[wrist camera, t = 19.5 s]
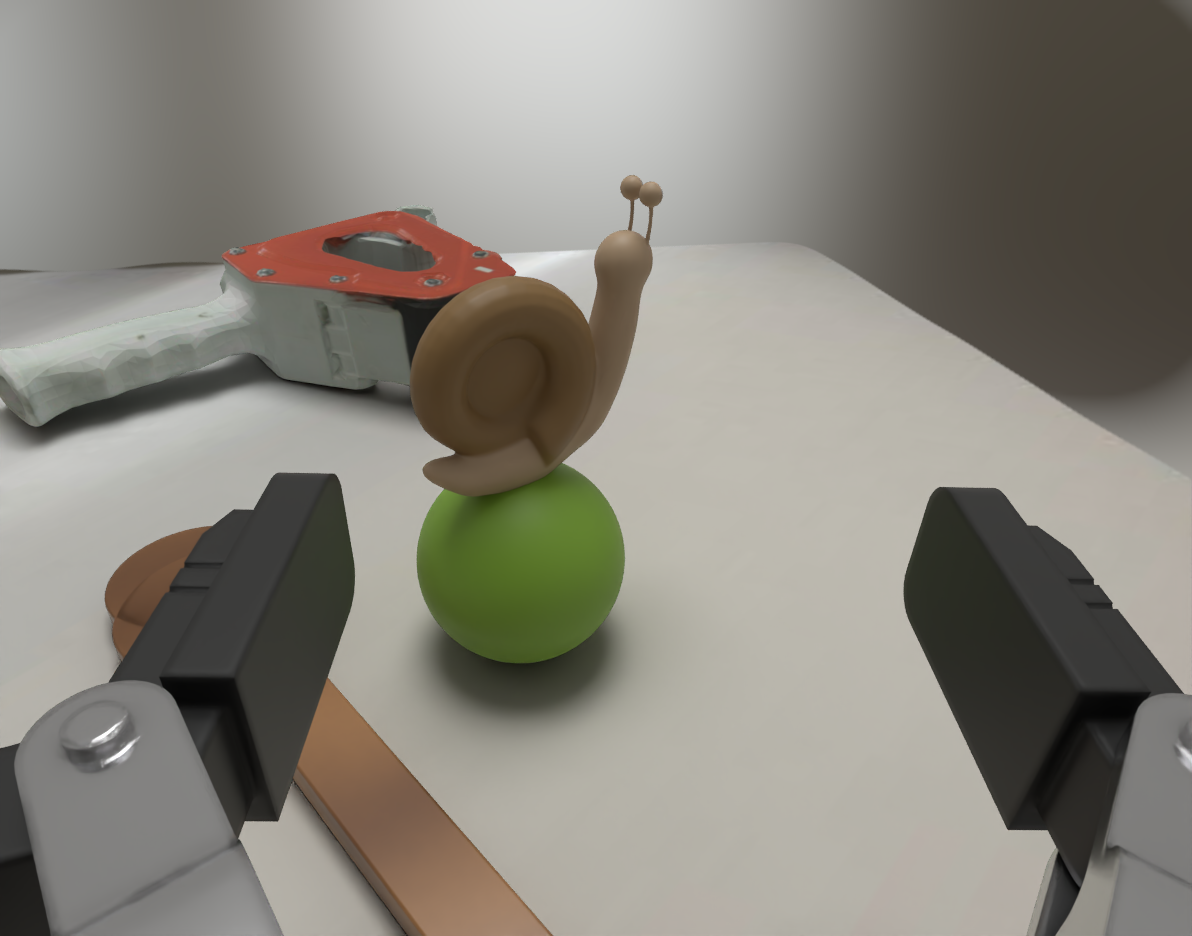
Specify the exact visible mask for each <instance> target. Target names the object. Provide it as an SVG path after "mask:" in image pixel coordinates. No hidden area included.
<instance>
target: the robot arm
mask: <svg viewBox="0 0 1192 936" xmlns="http://www.w3.org/2000/svg"><path fill="white" fill-rule="evenodd" d="M354 586H355V568H354V560H353V554H352V548H351V542H350V536H349V530H348V524H347V518H346V512H345V506H344V500H343V494H342V489H341V484H340V481H339V479H338V477H337V476H336V475H335V474H320V473H276V474H275V475H274V476H273V477H272V478H271V480H270V482H269V484H268V485H267V487H266V489H265V491H264V492H263V494H262V496H261V498H260V499H259V501H258V503H257V505H256V506H255V508H254V510H235V509H234V510H233V511H231V512H230V513H229V514H227V515H226V516H225V517H224V518H222V519H221V520H220V521H218V522H217V523H216V524H214V525H213V526H212V527H211V528H209V529H208V530H207V531H205V532H204V533H203V534H202V535H201V537H200V538H199V540H198V541H197V543H196V545H195V546H194V548H193V549H192V551H191V552H190V554H189V556H188V557H187V559H186V560H185V562H184V568H180V570H179V572H178V573H177V575H176V576H175V578H174V579H173V581H172V583H171V584H170V586H169V588H170V589H169V592H165V594H164V595H163V597H162V598H161V600H160V602H159V603H158V605H157V606H156V608H155V610H154V611H153V613H152V614H151V616H150V618H149V619H148V621H147V622H146V624H145V625H144V627H143V629H142V630H141V632H140V633H139V635H138V637H137V638H136V640H135V641H134V643H133V644H132V646H131V648H130V649H129V651H128V652H127V654H126V656H125V657H124V659H123V660H122V662H121V664H120V665H119V667H118V668H117V670H116V671H115V673H114V675H113V676H112V678H111V679H110V681H109V683H106V684H102V685H98V686H95V687H92V688H89V689H87V690H84V691H82V692H80V693H77V694H75V695H73V696H71V697H69V698H68V699H66V700H64V701H62V702H61V703H59V704H58V705H56V706H55V707H53V708H52V709H51V710H49V711H48V712H47V713H45V714H44V715H43V716H42V717H41V718H40V719H39V720H38V721H37V722H36V723H35V724H34V725H33V726H32V727H31V729H30V730H29V731H28V732H27V733H26V735H25V737H24V738H23V740H22V741H21V743H19V744H15V745H12V746H8V747H4V748H0V936H284V935H283V933H282V931H281V928H280V926H279V924H278V922H277V919H276V917H275V915H274V913H273V911H272V908H271V906H270V904H269V902H268V899H267V897H266V895H265V893H264V890H263V888H262V886H261V884H260V882H259V879H258V877H257V875H256V873H255V870H254V868H253V866H252V864H251V862H250V859H249V857H248V855H247V853H246V851H245V849H244V847H243V845H242V843H241V841H240V840H239V839H238V837H239V835H240V832H241V829H242V827H243V824H244V822H245V821H278V820H279V817H280V814H281V811H282V808H283V805H284V802H285V800H286V797H287V794H288V791H289V788H290V785H291V782H292V779H293V776H294V773H295V770H296V767H297V764H298V762H299V759H300V756H301V753H302V750H303V747H304V744H305V741H306V738H307V735H308V732H309V729H310V726H311V724H312V721H313V718H314V715H315V712H316V709H317V706H318V703H319V700H320V697H321V694H322V691H323V689H324V686H325V683H326V680H327V677H328V674H329V671H330V668H331V665H332V662H333V659H334V656H335V653H336V651H337V648H338V645H339V642H340V639H341V636H342V633H343V630H344V627H345V624H346V621H347V618H348V615H349V613H350V609H351V606H352V601H353V595H354ZM904 603H905V609H906V613H907V616H908V619H909V621H910V624H911V626H912V628H913V630H914V632H915V634H916V636H917V638H918V641H919V643H920V645H921V647H922V649H923V651H924V653H925V655H926V658H927V660H928V662H929V664H930V666H931V668H932V670H933V672H934V674H935V677H936V679H937V681H938V683H939V685H940V687H941V689H942V691H943V694H944V696H945V698H946V700H947V702H948V704H949V706H950V708H951V711H952V713H953V715H954V717H955V719H956V721H957V723H958V725H959V728H960V730H961V732H962V734H963V736H964V738H965V740H966V742H967V744H968V747H969V749H970V751H971V753H972V755H973V757H974V759H975V761H976V764H977V766H978V768H979V770H980V772H981V774H982V776H983V778H984V781H985V783H986V785H987V787H988V789H989V791H990V793H991V795H992V798H993V800H994V802H995V804H996V806H997V808H998V810H999V812H1000V814H1001V817H1002V819H1003V821H1004V823H1005V825H1006V827H1007V829H1008V830H1048V832H1049V834H1050V835H1051V837H1052V839H1053V841H1054V843H1055V845H1056V848H1055V850H1054V852H1053V853H1052V855H1051V857H1050V859H1049V861H1048V863H1047V866H1046V869H1045V873H1044V876H1043V880H1042V883H1041V887H1040V890H1039V893H1038V897H1037V900H1036V904H1035V907H1034V911H1033V914H1032V918H1031V921H1030V925H1029V928H1028V932H1027V935H1026V936H1192V695H1187V694H1184V693H1183V692H1182V691H1181V689H1180V688H1179V687H1178V686H1177V684H1176V683H1175V682H1174V680H1173V679H1172V678H1171V677H1170V675H1169V674H1168V673H1167V672H1166V670H1165V669H1164V668H1163V666H1162V665H1161V664H1160V663H1159V661H1158V660H1157V659H1156V658H1155V656H1154V655H1153V654H1152V652H1151V651H1150V650H1149V649H1148V647H1147V646H1146V645H1145V644H1144V642H1143V641H1142V640H1141V638H1140V637H1139V636H1138V635H1137V633H1136V632H1135V631H1134V630H1133V628H1132V627H1131V626H1130V624H1129V623H1128V622H1127V621H1126V619H1125V618H1124V617H1123V616H1122V614H1121V613H1120V612H1119V610H1118V609H1113V608H1112V604H1113V603H1112V602H1111V600H1110V599H1109V598H1108V596H1107V595H1106V594H1105V593H1104V591H1103V590H1102V589H1101V588H1100V586H1099V585H1094V579H1093V577H1092V576H1091V575H1090V574H1089V572H1088V571H1087V570H1086V568H1085V567H1084V566H1083V565H1082V563H1081V562H1080V561H1079V560H1078V558H1077V557H1076V556H1075V554H1074V553H1073V552H1072V551H1071V550H1070V549H1068V548H1067V547H1066V546H1064V545H1063V544H1061V543H1060V542H1059V541H1057V540H1056V539H1055V538H1053V537H1052V536H1050V535H1049V534H1048V533H1046V532H1045V531H1043V530H1042V529H1041V528H1039V527H1038V526H1027V524H1026V523H1025V522H1024V520H1023V519H1022V518H1021V516H1020V515H1019V514H1018V512H1017V511H1016V510H1015V508H1014V507H1013V506H1012V504H1011V503H1010V502H1009V500H1008V499H1007V497H1006V496H1005V495H1004V494H1003V493H1002V492H1001V491H1000V490H998V489H996V488H957V487H939V488H937V489H936V490H935V491H934V492H933V493H932V495H931V497H930V498H929V501H928V504H927V507H926V510H925V513H924V517H923V520H922V523H921V526H920V529H919V533H918V536H917V539H916V542H915V545H914V548H913V552H912V555H911V558H910V561H909V564H908V567H907V571H906V574H905V580H904Z"/></svg>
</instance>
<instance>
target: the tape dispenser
mask: <svg viewBox="0 0 1192 936" xmlns="http://www.w3.org/2000/svg"><path fill="white" fill-rule="evenodd" d="M222 258H223V262H224V265H225V269H226V270H225V272H224V274H223V276H222V279H221V282H220V286H221V289H222V292H223V294H222V296H220V297H219V298H217V299H215V300H213V301H211V302H210V303H208V304H205V305H201V306H196V307H190V308H185V309H180V310H175V311H170V312H165V313H160V314H155V315H150V316H146V317H141V318H137V319H132V320H128V321H123V322H119V323H115V324H111V325H107V326H103V327H99V328H96V329H92V330H88V331H84V332H80V333H77V334H73V335H70V336H66V337H63V338H59V339H56V340H53V341H49V342H45V343H41V344H37V345H33V346H29V347H19V348H10V349H0V397H1V398H2V400H3V401H4V403H5V404H6V405H7V406H8V408H9V409H10V410H12V411H13V412H14V413H15V414H16V415H17V416H18V417H20V418H21V419H22V420H23V421H25V422H26V423H27V424H29V425H32V426H35V427H38V426H42V425H43V424H45V423H46V422H48V421H49V420H51V419H52V418H54V417H55V416H57V415H59V414H61V413H63V412H65V411H67V410H69V409H71V408H73V407H76V406H80V405H83V404H86V403H90V402H95V401H99V400H103V399H108V398H112V397H114V396H117V395H119V394H122V393H124V392H127V391H129V390H132V389H135V388H139V387H143V386H146V385H150V384H154V383H157V382H161V381H163V380H166V379H168V378H171V377H173V376H175V375H179V374H182V373H186V372H189V371H192V370H196V369H199V368H202V367H205V366H207V365H209V364H212V363H214V362H216V361H219V360H221V359H223V358H226V357H228V356H231V355H237V354H244V353H251V354H255V355H257V356H258V357H259V358H260V359H261V360H262V361H263V362H264V363H265V364H266V365H267V366H268V367H269V368H270V369H271V370H272V371H274V372H275V373H276V374H277V375H278V376H279V377H281V378H283V379H287V380H294V381H300V382H307V383H314V384H320V385H327V386H333V387H340V388H347V389H355V390H357V389H365V388H368V387H371V386H373V385H375V384H376V383H377V382H378V381H379V380H380V381H387V382H395V383H399V384H404V385H408V386H410V373H411V367H412V361H413V357H414V354H415V352H416V349H417V346H418V343H419V341H420V339H421V337H422V335H423V334H424V332H425V330H426V328H427V326H428V325H429V323H430V322H431V321H432V320H433V318H434V317H435V316H436V315H437V313H438V312H439V311H440V310H441V309H442V308H443V307H444V306H445V305H446V304H447V303H449V302H450V301H451V300H452V299H453V298H454V297H455V296H457V295H458V294H460V293H461V292H463V291H465V290H467V289H468V288H470V287H472V286H473V285H475V284H478V283H481V282H484V281H487V280H490V279H492V278H498V277H506V276H515V273H516V271H515V270H514V269H513V268H512V267H511V266H509V265H508V264H507V263H505V262H504V261H502V258H501V256H500V255H499V254H498V253H495V252H491V251H485V250H482V249H481V248H480V247H477V246H473V245H472V244H471V243H469V242H467V241H465V240H463V239H462V238H459V237H457V236H455V235H452V234H451V233H448V232H446V231H444V230H443V229H441V228H439V227H437V222H436V217H435V215H434V213H433V209H432V208H429V207H425V206H421V205H413V206H405V207H400V208H397V209H396V210H395V211H385V212H378V213H374V214H370V215H366V216H361V217H357V218H353V219H349V220H345V221H341V222H337V223H333V224H329V225H325V226H321V227H317V228H313V229H309V230H305V231H301V232H297V233H293V234H289V235H285V236H281V237H277V238H274V239H271V240H270V241H267V242H263V243H257V244H253V245H248V246H244V247H240V248H238V247H237V248H231V250H229V251H227V252H225V253H224V254H223V255H222Z"/></svg>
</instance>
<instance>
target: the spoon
mask: <svg viewBox="0 0 1192 936" xmlns="http://www.w3.org/2000/svg"><path fill="white" fill-rule="evenodd" d="M211 527H212V526H206V527H199V528H194V529H189V530H185V531H182V532H178V533H175V534H172V535H169V536H166V537H164V538H162V539H159V540H157V541H155V542H153V543H151V544H149V545H147V546H145V547H144V548H142V549H140V550H139V551H137V552H136V553H134V554H133V555H132V556H130V557H129V558H128V559H127V560H126V561H125V562H123V563H122V564H121V565H120V566H119V568H118V569H117V570H116V571H115V572H114V574H113V575H112V577H111V578H110V580H109V582H108V584H107V588H106V591H105V604H106V608H107V611H108V613H109V616H110V618H111V621H112V623H113V627H112V637H113V642H114V645H115V648H116V650H117V653H118V655H119V657H120V660H121V662H122V660H123V659H124V657H125V656H126V654H127V652H128V651H129V649H130V648H131V646H132V644H133V643H134V641H135V640H136V638H137V637H138V635H139V633H140V632H141V630H142V629H143V627H144V625H145V624H146V622H147V621H148V619H149V618H150V616H151V614H152V613H153V611H154V610H155V608H156V606H157V605H158V603H159V602H160V600H161V598H162V597H163V595H164V594H165V592H169V589H170V588H169V586H170V584H171V583H172V581H173V579H174V578H175V576H176V575H177V573H178V572H179V570H180V568H184V562H185V560H186V559H187V557H188V556H189V554H190V552H191V551H192V549H193V548H194V546H195V545H196V543H197V541H198V540H199V538H200V537H201V535H202V534H203V533H204V532H205V531H207V530H208V529H209V528H211ZM293 780H294V781H295V782H296V784H297V785H298V786H299V788H300V789H301V791H302V792H303V793H304V795H305V796H306V797H307V799H308V800H309V801H310V803H311V804H312V806H313V807H314V808H315V810H316V811H317V812H318V814H319V815H320V816H321V818H322V819H323V821H324V822H325V823H326V825H327V826H328V827H329V829H330V830H331V831H332V833H333V834H334V836H335V837H336V838H337V840H338V841H339V842H340V844H341V845H342V846H343V848H344V849H345V851H346V852H347V853H348V855H349V856H350V857H351V859H352V860H353V861H354V863H355V864H356V866H357V867H358V868H359V870H360V871H361V872H362V874H363V875H364V876H365V878H366V879H367V881H368V882H369V883H370V885H371V886H372V887H373V889H374V890H375V891H376V893H377V894H378V896H379V897H380V898H381V900H382V901H383V902H384V904H385V905H386V906H387V908H388V909H389V911H390V912H391V913H392V915H393V916H394V917H395V919H396V920H397V921H398V923H399V924H400V926H401V927H402V928H403V930H404V931H405V932H406V934H407V935H408V936H553V935H552V934H551V933H550V932H549V930H548V929H547V928H546V927H545V926H544V925H543V924H542V922H541V921H540V920H539V919H538V918H537V917H536V916H535V914H534V913H533V912H532V911H531V910H530V909H529V908H528V906H527V905H526V904H525V903H524V902H523V901H522V900H521V898H520V897H519V896H518V895H517V894H516V893H515V891H514V890H513V889H512V888H511V887H510V886H509V885H508V883H507V882H506V881H505V880H504V879H503V878H502V877H501V875H500V874H499V873H498V872H497V871H496V870H495V869H494V867H493V866H492V865H491V864H490V863H489V862H488V861H487V859H486V858H485V857H484V856H483V855H482V854H481V853H480V851H479V850H478V849H477V848H476V847H475V846H474V845H473V843H472V842H471V841H470V840H469V839H468V838H467V837H466V835H465V834H464V833H463V832H462V831H461V830H460V829H459V827H458V826H457V825H456V824H455V823H454V822H453V821H452V819H451V818H450V817H449V816H448V815H447V814H446V812H445V811H444V810H443V809H442V808H441V807H440V806H439V804H438V803H437V802H436V801H435V800H434V799H433V798H432V796H431V795H430V794H429V793H428V792H427V791H426V790H425V788H424V787H423V786H422V785H421V784H420V783H419V782H418V780H417V779H416V778H415V777H414V776H413V775H412V774H411V772H410V771H409V770H408V769H407V768H406V767H405V766H404V764H403V763H402V762H401V761H400V760H399V759H398V758H397V756H396V755H395V754H394V753H393V752H392V751H391V750H390V748H389V747H388V746H387V745H386V744H385V743H384V741H383V740H382V739H381V738H380V737H379V736H378V735H377V733H376V732H375V731H374V730H373V729H372V728H371V727H370V725H369V724H368V723H367V722H366V721H365V720H364V719H363V717H362V716H361V715H360V714H359V713H358V712H357V711H356V709H355V708H354V707H353V706H352V705H351V704H350V703H349V701H348V700H347V699H346V698H345V697H344V696H343V695H342V693H341V692H340V691H339V690H338V689H337V688H336V687H335V685H334V684H333V683H332V682H331V681H330V680H329V679H328V677H327V680H326V683H325V686H324V689H323V691H322V694H321V697H320V700H319V703H318V706H317V709H316V712H315V715H314V718H313V721H312V724H311V726H310V729H309V732H308V735H307V738H306V741H305V744H304V747H303V750H302V753H301V756H300V759H299V762H298V764H297V767H296V770H295V773H294V776H293Z"/></svg>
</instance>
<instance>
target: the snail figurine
mask: <svg viewBox="0 0 1192 936" xmlns="http://www.w3.org/2000/svg"><path fill="white" fill-rule="evenodd" d="M620 189H621V193H622V195H623V196H624V197H625V198H626V199H629V200H630V201H631V213H630V222H629V227H628V230H622V231H617V232H614V233H612V234H610V235H609V236H608V237H606V239H604V241H603V242H602V243H601V244H600V246H599V248H598V250H597V252H596V255H595V261H594V266H595V272H596V277H597V291H596V296H595V300H594V305H593V308H592V312H591V316H590V320H589V324H588V323H587V321H586V319H585V317H584V315H583V313H582V312H581V310H580V309H579V308H578V307H577V306H576V305H575V303H574V302H573V301H572V300H571V299H570V298H569V297H568V296H567V295H566V294H565V293H563V292H562V291H561V290H559V289H558V288H556V287H555V286H553V285H552V284H549V283H546V282H543V281H541V280H538V279H534V278H528V277H519V276H506V277H498V278H492V279H490V280H487V281H484V282H481V283H478V284H475V285H473V286H472V287H470V288H468V289H467V290H465V291H463V292H461V293H460V294H458V295H457V296H455V297H454V298H453V299H452V300H451V301H450V302H449V303H447V304H446V305H445V306H444V307H443V308H442V309H441V310H440V311H439V312H438V313H437V315H436V316H435V317H434V318H433V320H432V321H431V322H430V323H429V325H428V326H427V328H426V330H425V332H424V334H423V335H422V337H421V339H420V341H419V343H418V346H417V349H416V352H415V354H414V357H413V361H412V367H411V373H410V396H411V401H412V404H413V408H414V412H415V414H416V416H417V418H418V420H419V422H420V424H421V425H422V427H423V428H424V430H425V431H426V432H427V433H428V434H429V435H430V436H431V437H432V438H434V439H435V440H436V441H438V442H440V443H441V444H443V445H445V446H446V447H448V448H450V449H452V450H454V451H455V454H454V455H451V456H448V457H443V458H439V459H435V460H432V461H430V462H428V463H427V464H426V465H425V466H424V467H423V474H424V476H425V477H426V478H427V479H428V480H430V481H431V482H433V483H434V484H436V485H438V486H440V487H442V488H444V490H443V491H442V492H441V494H440V495H439V496H438V497H437V499H436V500H435V502H434V503H433V505H432V506H431V508H430V510H429V512H428V514H427V516H426V518H425V521H424V523H423V526H422V529H421V532H420V536H419V541H418V547H417V573H418V580H419V584H420V588H421V591H422V595H423V597H424V600H425V602H426V604H427V606H428V608H429V610H430V612H431V614H432V615H433V617H434V618H435V620H436V621H437V623H438V624H439V625H440V626H441V627H442V629H443V630H444V631H445V632H446V633H447V634H448V635H449V636H450V637H451V638H452V639H454V640H455V641H456V642H457V643H459V644H460V645H462V646H463V647H465V648H466V649H468V650H470V651H472V652H474V653H476V654H478V655H480V656H483V657H485V658H488V659H492V660H496V661H500V662H506V663H533V662H539V661H544V660H548V659H551V658H554V657H557V656H559V655H562V654H564V653H566V652H568V651H570V650H572V649H573V648H575V647H576V646H578V645H579V644H581V643H582V642H584V641H585V640H586V639H587V638H588V637H590V636H591V635H592V634H593V633H594V632H595V631H596V630H597V629H598V627H599V626H600V625H601V624H602V623H603V621H604V620H605V619H606V617H607V616H608V614H609V612H610V611H611V609H612V607H613V605H614V603H615V601H616V599H617V596H618V593H619V591H620V587H621V584H622V579H623V574H624V564H625V552H624V543H623V537H622V533H621V529H620V526H619V523H618V520H617V518H616V515H615V513H614V511H613V509H612V507H611V506H610V504H609V502H608V501H607V500H606V498H605V497H604V495H603V494H602V493H601V492H600V490H599V489H598V488H597V487H596V486H595V485H594V484H593V483H592V482H591V481H590V480H588V479H587V478H586V477H585V476H583V475H582V474H581V473H579V472H578V471H576V470H575V469H573V468H571V467H569V466H567V465H565V464H563V463H562V462H563V461H564V460H565V459H567V458H568V457H569V456H570V455H571V454H572V453H573V452H575V451H576V450H577V449H578V448H579V447H581V446H582V445H583V444H584V443H585V442H587V441H588V440H589V439H590V438H591V437H592V436H593V435H594V433H595V432H596V431H597V430H598V429H599V427H600V426H601V425H602V423H603V422H604V420H605V418H606V416H607V414H608V412H609V410H610V408H611V406H612V404H613V402H614V399H615V397H616V395H617V392H618V390H619V387H620V384H621V382H622V379H623V376H624V373H625V370H626V367H627V363H628V360H629V356H630V352H631V348H632V345H633V341H634V336H635V332H636V327H637V321H638V313H639V304H640V297H641V293H642V289H643V287H644V284H645V282H646V280H647V278H648V276H649V274H650V272H651V269H652V260H653V257H652V250H651V247H650V245H649V239H650V233H651V226H652V217H653V207H654V206H657V205H658V204H659V203H660V202H661V200H662V197H663V193H662V189H661V187H660V186H659V185H658V184H657V183H655V182H647V183H645V184H644V185H643V183H642V181H641V180H640V178H638V177H637V176H635V175H630V176H627V177H626V178H625V179H623V181H622V183H621V187H620ZM638 198H640V201H641V202H642V203H643V204H644V205H645V206H647V207H649V225H648V231H647V234H646V238H644V237H643V236H641V235H640V234H638V233H636V232H634V231H631V230H632V224H633V214H634V200H636V199H638Z"/></svg>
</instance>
